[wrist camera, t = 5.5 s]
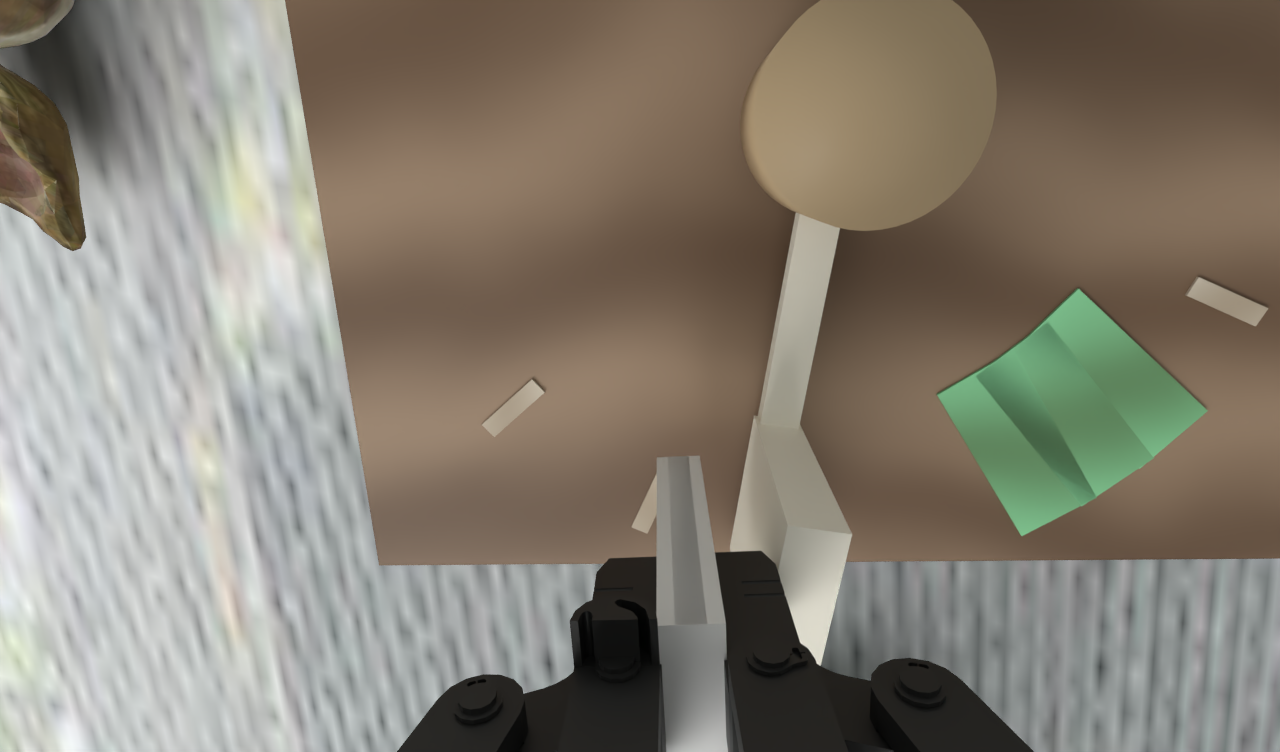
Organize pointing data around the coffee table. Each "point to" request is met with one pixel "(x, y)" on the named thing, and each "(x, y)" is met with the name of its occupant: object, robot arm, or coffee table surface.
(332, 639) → the coffee table surface
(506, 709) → the robot arm
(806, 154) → the knob lever
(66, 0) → the ceramic sculpture
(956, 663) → the coffee table surface
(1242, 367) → the dial plate
